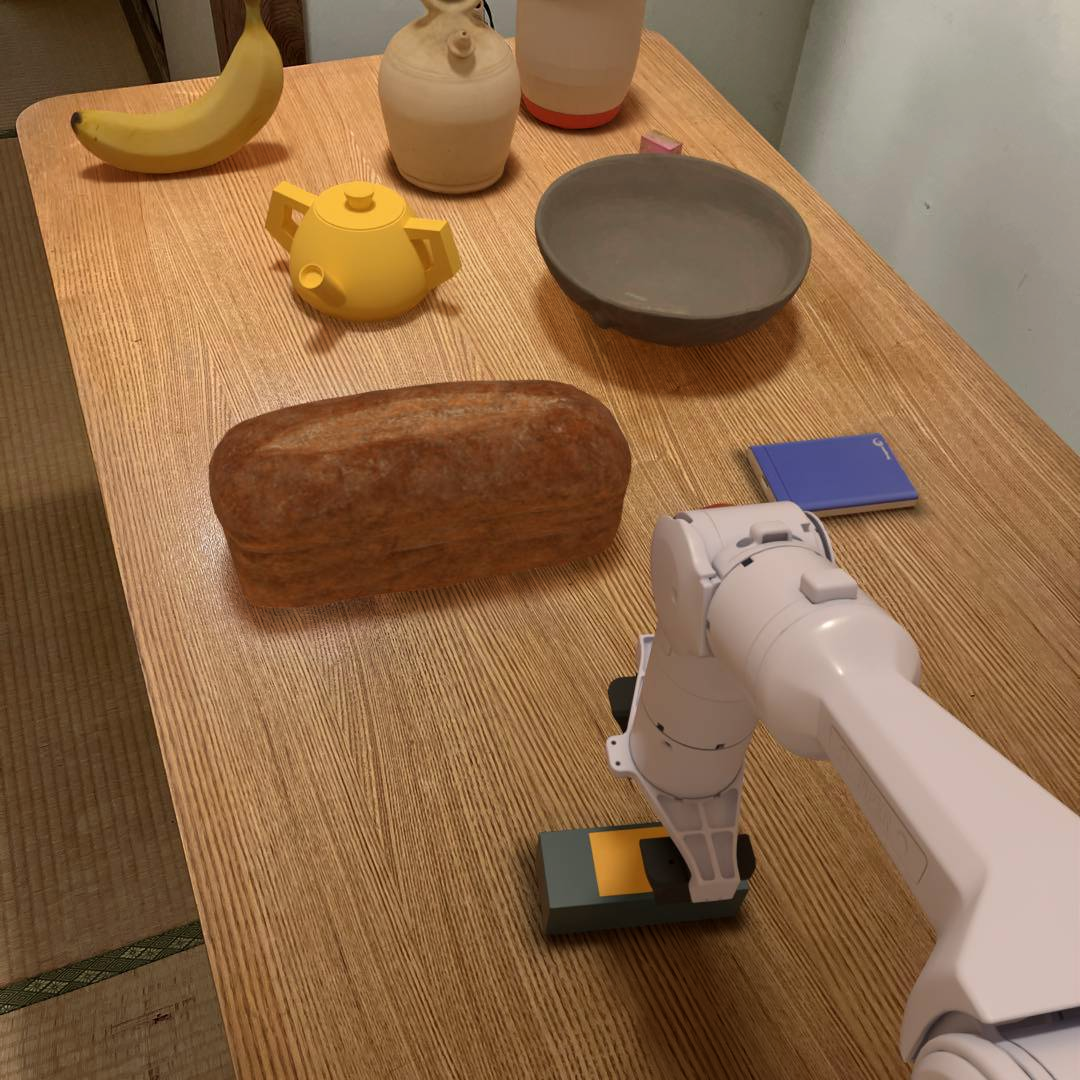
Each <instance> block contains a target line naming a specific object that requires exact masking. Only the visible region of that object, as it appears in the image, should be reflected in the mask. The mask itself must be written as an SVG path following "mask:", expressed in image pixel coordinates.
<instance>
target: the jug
mask: <svg viewBox="0 0 1080 1080" xmlns="http://www.w3.org/2000/svg"><path fill="white" fill-rule="evenodd" d="M419 1H420V2H421V3H422V5H423V7H424V8H425V12H424V13H423V15H422V16H420V17H418V18H415V19H414V20H412V21H411V22H409V23H408V24H406V25H405V26H403V27H402V28H401V29H400V30H399V31H397V32H396V33H395V34H394V35H393V36H392V37H391V39H390V41H388V42H389V43H388V44H387V46H386V48H385V50H384V53H383V55H382V58H381V60H380V65H379V70H378V76H377V92H378V99H379V103H380V109H381V113H382V118H383V122H384V126H385V131H386V134H387V135H386V136H387V139H388V144H389V147H390V152H391V154H392V157H393V160H394V163H395V164H396V168H397V170H398V172H399V173H400V175H401V176H402V177H403V179H405V180H406V181H407V182H409V183H411V184H412V185H414V186H416V187H417V188H420V189H422V190H425V191H429V192H431V193H439V194H443V195H455V196H457V195H465V194H472V193H477V192H481V191H483V190H486V189H488V188H490V187H491V186H493V185H494V184H496V183H497V182H498V181H499V180H500V179H501V177H502V176H503V174H504V170H505V164H506V161H507V159H508V157H509V153H510V149H511V145H512V140H513V136H514V132H515V128H516V123H517V119H518V116H519V110H520V107H521V105H520V104H521V99H522V98H521V97H522V93H521V86H520V76H519V71H518V67H517V63H516V57H515V56H514V55H515V54H514V53H513V51H512V49H511V47H510V45H509V44H508V42H507V41H506V39H505V38H504V37H503V36H502V35H501V34H500V33H499V32H497V31H496V30H495V29H494V28H493V27H491V26H490V25H489V24H487V23H485V22H484V21H482V20H480V19H478V18H476V17H474V16H473V14H472V12H473V10H474V9H476V7H477V6H478V5H479V4H480V3H481V2H482V0H419Z"/></svg>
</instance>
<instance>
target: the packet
mask: <svg viewBox="0 0 1080 1080" xmlns="http://www.w3.org/2000/svg"><path fill="white" fill-rule="evenodd" d="M668 836H670V835H669V834H668V832H667V831H666V829H665V828H664V826H663V825H662V823H661V821H651V822H641V823H631V824H630V823H629V824H619V825H606V826H596V827H585V828H573V829H563V830H554V831H553V830H551V831H541V832H538V838H537V845H536V851H535V857H534V858H535V859H534V865H535V873H536V880H537V889H538V896H539V902H540V911H541V918H542V925H543V933H544V934H543V935H544V936H555V935H566V934H576V933H584V932H594V931H595V932H596V931H604V930H605V931H606V930H614V929H615V930H616V929H624V928H633V927H643V926H654V925H662V924H672V923H683V922H691V921H693V922H694V921H701V920H711V919H712V920H713V919H721V918H732V917H737V915H738V912H739V911H740V909H741V906H742V905H743V903H744V901H745V899H746V897H747V896H748V893H749V891H750V885H749V880H743V881H740V883H739V885H738V887H737V889H736V891H735V894H734V896H733V898H732V899H724V900H717V901H707V902H706V901H705V902H695V903H694V902H692V901H691V902H687V903H677V904H667V905H657V904H656V903H655V901H654V896H653V891H652V888H651V886H650V884H649V882H648V879H647V877H646V874H645V870H644V865H643V860H642V855H641V851H640V846H639V841H640V839H647V838H658V837H668Z"/></svg>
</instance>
